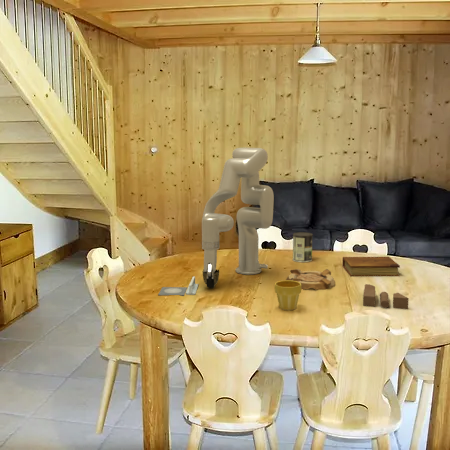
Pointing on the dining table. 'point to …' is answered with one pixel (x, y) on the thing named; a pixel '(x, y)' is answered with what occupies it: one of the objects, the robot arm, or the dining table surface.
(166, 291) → the rest pad
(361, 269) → the diary
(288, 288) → the plant pot
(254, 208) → the robot arm
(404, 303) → the wooden block set
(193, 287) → the low wall
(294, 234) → the coffee can
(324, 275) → the ashtray
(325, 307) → the dining table surface
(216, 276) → the ornate metal lamp shade
